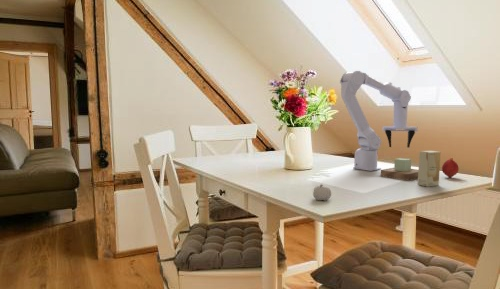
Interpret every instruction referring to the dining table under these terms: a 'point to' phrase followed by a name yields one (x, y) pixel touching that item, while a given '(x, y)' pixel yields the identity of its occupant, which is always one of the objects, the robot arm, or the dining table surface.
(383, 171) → the light brown block
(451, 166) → the onion
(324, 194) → the grey pumpkin
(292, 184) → the dining table surface
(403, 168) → the sage cube
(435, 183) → the skincare box
